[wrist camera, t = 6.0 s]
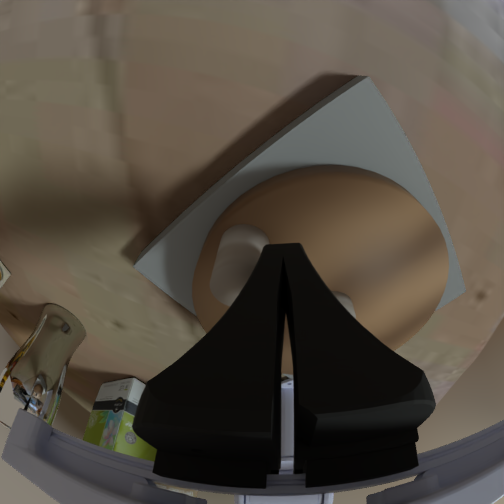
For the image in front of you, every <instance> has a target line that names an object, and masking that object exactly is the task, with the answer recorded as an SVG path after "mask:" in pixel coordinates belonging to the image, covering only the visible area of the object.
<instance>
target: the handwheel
mask: <svg viewBox="0 0 504 504" xmlns="http://www.w3.org/2000/svg"><path fill="white" fill-rule="evenodd" d="M282 243H300V244H302V246H303V248H304V250H305V252H306V254H307V256H308V258H309V260H310V261H311V263H312V265H313V266H314V268H315V270H316V271H317V272H318V274H319V275H320V277H321V278H322V280H323V281H324V283H325V284H326V285H327V287H328V288H329V289H330V290H331V292H332V293H333V294H334V295H335V297H336V298H337V299H338V300H339V301H340V303H341V304H342V305H343V306H344V307H345V308H346V309H347V310H348V311H349V312H350V314H351V315H352V316H353V317H354V318H355V319H356V320H357V321H358V322H359V323H360V324H362V325H363V326H364V327H365V328H366V329H367V330H368V331H369V332H371V333H372V334H373V335H374V336H375V337H376V338H378V339H379V340H380V341H381V342H382V343H383V344H385V345H386V346H387V347H389V348H390V349H391V350H393V351H394V350H396V349H397V348H399V347H400V346H402V345H403V344H404V343H406V342H407V341H408V340H410V339H411V338H412V337H413V336H414V335H415V334H416V333H417V332H418V331H419V330H420V329H421V328H422V327H423V326H424V325H425V324H426V323H427V321H428V320H429V319H430V317H431V316H432V314H433V313H434V311H435V310H436V308H437V306H438V304H439V303H440V301H441V298H442V296H443V293H444V291H445V287H446V283H447V280H448V272H449V256H448V250H447V246H446V242H445V239H444V237H443V234H442V232H441V230H440V228H439V226H438V225H437V223H436V222H435V220H434V219H433V218H432V216H431V215H430V214H429V213H428V212H427V210H426V209H425V208H424V207H423V206H422V205H421V204H420V202H419V201H418V200H417V199H416V198H415V197H414V196H413V195H412V194H411V193H410V192H408V191H407V190H406V189H405V188H404V187H402V186H401V185H399V184H398V183H396V182H395V181H393V180H392V179H390V178H388V177H385V176H383V175H381V174H379V173H376V172H373V171H370V170H366V169H362V168H358V167H351V166H342V165H321V166H312V167H306V168H300V169H295V170H292V171H289V172H286V173H282V174H279V175H276V176H274V177H272V178H270V179H268V180H265V181H263V182H261V183H259V184H257V185H256V186H254V187H253V188H251V189H249V190H248V191H246V192H245V193H243V194H242V195H240V196H239V197H238V198H237V199H236V200H235V201H234V202H233V203H231V204H230V205H229V206H228V207H227V208H226V209H225V210H224V212H223V213H222V214H221V215H220V216H219V217H218V219H217V220H216V221H215V223H214V224H213V226H212V228H211V229H210V231H209V233H208V235H207V237H206V239H205V242H204V245H203V247H202V250H201V253H200V256H199V259H198V262H197V265H196V268H195V271H194V276H193V281H192V299H193V304H194V309H195V312H196V315H197V317H198V320H199V322H200V323H201V325H202V327H203V329H204V330H205V332H206V333H208V332H209V331H210V330H211V328H212V327H213V326H214V325H215V324H216V323H217V322H218V321H219V320H220V318H221V317H222V316H223V315H224V314H225V312H226V311H227V310H228V309H229V307H230V306H231V305H232V303H233V302H234V300H235V299H236V298H237V296H238V295H239V293H240V291H241V290H242V288H243V287H244V285H245V284H246V282H247V280H248V279H249V277H250V275H251V273H252V271H253V270H254V268H255V266H256V264H257V262H258V259H259V257H260V255H261V252H262V249H263V247H264V246H265V245H266V244H282ZM281 373H282V374H289V375H293V363H292V354H291V346H290V339H289V332H288V324H287V317H285V330H284V342H283V354H282V369H281Z"/></svg>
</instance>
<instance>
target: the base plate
mask: <svg viewBox="0 0 504 504" xmlns="http://www.w3.org/2000/svg"><path fill="white" fill-rule="evenodd" d="M321 165H342V166H351V167H358V168H362V169H366V170H370V171H373V172H376V173H379V174H381V175H383V176H385V177H388V178H390V179H392V180H393V181H395V182H396V183H398V184H399V185H401V186H402V187H404V188H405V189H406V190H407V191H408V192H410V193H411V194H412V195H413V196H414V197H415V198H416V199H417V200H418V201H419V202H420V204H421V205H422V206H423V207H424V208H425V209H426V210H427V212H428V213H429V214H430V215H431V216H432V218H433V219H434V220H435V222H436V223H437V225H438V226H439V228H440V230H441V232H442V234H443V237H444V239H445V242H446V246H447V250H448V256H449V272H448V280H447V283H446V287H445V291H444V293H443V296H442V298H441V301H440V303H439V304H438V306H437V308H436V310H438V309H439V308H441V307H442V306H444V305H446V304H447V303H449V302H450V301H452V300H453V299H455V298H457V297H458V296H460V295H461V294H463V293H464V292H466V290H465V285H464V281H463V277H462V274H461V270H460V266H459V263H458V259H457V256H456V253H455V249H454V246H453V243H452V240H451V237H450V234H449V231H448V228H447V226H446V223H445V220H444V217H443V215H442V212H441V210H440V207H439V204H438V202H437V200H436V197H435V195H434V192H433V190H432V188H431V185H430V183H429V181H428V179H427V176H426V174H425V172H424V170H423V168H422V166H421V164H420V162H419V160H418V158H417V156H416V154H415V152H414V150H413V148H412V146H411V144H410V142H409V140H408V139H407V137H406V135H405V133H404V131H403V130H402V128H401V126H400V124H399V123H398V121H397V119H396V118H395V116H394V114H393V113H392V111H391V109H390V108H389V106H388V104H387V103H386V101H385V100H384V98H383V97H382V95H381V94H380V92H379V91H378V89H377V88H376V86H375V85H374V83H373V82H372V80H371V79H370V78H369V76H357V77H355V78H354V79H352V80H351V81H349V82H348V83H346V84H345V85H343V86H342V87H340V88H339V89H337V90H336V91H334V92H333V93H331V94H330V95H329V96H327V97H326V98H324V99H323V100H321V101H320V102H319V103H317V104H316V105H314V106H313V107H312V108H310V109H309V110H307V111H306V112H305V113H303V114H302V115H301V116H299V117H298V118H296V119H295V120H294V121H292V122H291V123H290V124H288V125H287V126H286V127H284V128H283V129H282V130H281V131H279V132H278V133H277V134H275V135H274V136H273V137H271V138H270V139H269V140H268V141H266V142H265V143H264V144H263V145H261V146H260V147H259V148H257V149H256V150H255V151H254V152H252V153H251V154H250V155H249V156H248V157H246V158H245V159H244V160H243V161H241V162H240V163H239V164H238V165H237V166H235V167H234V168H233V169H232V170H231V171H229V172H228V173H227V174H226V175H225V176H224V177H222V178H221V179H220V180H219V181H218V182H216V183H215V184H214V185H213V186H212V187H211V188H210V189H208V190H207V191H206V192H205V193H204V194H203V195H202V196H200V197H199V198H198V199H197V200H196V201H195V202H194V203H193V204H192V205H190V206H189V207H188V208H187V209H186V210H185V211H184V212H183V213H182V214H181V215H179V216H178V217H177V218H176V219H175V220H174V221H173V222H172V223H171V224H170V225H169V226H168V227H167V228H166V229H164V230H163V231H162V232H161V233H160V234H159V235H158V236H157V237H156V238H155V239H154V240H153V241H152V242H151V243H150V244H149V245H148V246H147V247H146V248H145V249H144V250H143V251H142V252H141V253H140V255H139V257H138V259H137V260H136V262H135V264H134V266H133V267H134V268H135V269H136V270H138V271H139V272H140V273H141V274H143V275H144V276H145V277H146V278H147V279H149V280H150V281H151V282H152V283H154V284H155V285H156V286H157V287H159V288H160V289H161V290H163V291H164V292H165V293H166V294H168V295H169V296H170V297H172V298H173V299H174V300H176V301H177V302H178V303H180V304H181V305H182V306H183V307H185V308H186V309H188V310H189V311H190V312H192V313H193V314H194V315H196V312H195V309H194V304H193V299H192V281H193V276H194V271H195V268H196V265H197V262H198V259H199V256H200V253H201V250H202V247H203V245H204V242H205V239H206V237H207V235H208V233H209V231H210V229H211V228H212V226H213V224H214V223H215V221H216V220H217V219H218V217H219V216H220V215H221V214H222V213H223V212H224V210H225V209H226V208H227V207H228V206H229V205H230V204H231V203H233V202H234V201H235V200H236V199H237V198H238V197H239V196H240V195H242V194H243V193H245V192H246V191H248V190H249V189H251V188H253V187H254V186H256V185H257V184H259V183H261V182H263V181H265V180H268V179H270V178H272V177H274V176H276V175H279V174H282V173H286V172H289V171H292V170H295V169H300V168H306V167H312V166H321ZM436 310H435V311H436ZM196 316H197V315H196ZM284 375H285V376H287V377H289V378H290V379H293V375H289V374H284Z"/></svg>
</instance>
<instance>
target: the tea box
mask: <svg viewBox="0 0 504 504" xmlns="http://www.w3.org/2000/svg"><path fill="white" fill-rule="evenodd" d="M145 386H146V385H145V384H144V383H142V382H140V381H139V380H137V379H136V378H128V379H122V380H117V381H112V382H107V383H103V384H102V385H101V387H100V390H99V392H98V395H97V397H96V400H95V403H94V406H93V409H92V412H91V415H90V418H89V421H88V424H87V428H86V431H85V434H84V438H83V441H86V442H89V443H91V444H94V445H97V446H100V447H103V448H106V449H109V450H112V451H116V452H119V453H123V454H126V455H130V456H133V457H137V458H141V459H145V460H150V461H155V456H156V452H157V449H155V448H154V447H152V446H151V445H150V444H148V443H147V442H145V441H144V440H142V439H141V438H140V437H139V436H137V435H136V434H135V432H134V431H133V429H132V424H133V420H134V417H135V413H136V410H137V406H138V403H139V400H140V397H141V394H142V392H143V390H144V388H145ZM152 482H153V481H152ZM154 483H155V484H156V486H157V487H158V488H162V489H166V490H170V491H174V492H179V493H183V494H186V495H189V496H192V497H196V498H197V496H198V490H192V489H186V488H180V487H175V486H170V485H166V484H161V483H157V482H154Z"/></svg>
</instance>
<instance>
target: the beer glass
mask: <svg viewBox="0 0 504 504" xmlns="http://www.w3.org/2000/svg"><path fill="white" fill-rule="evenodd" d="M85 336H86V332H85V329H84V327H83V325H82V324H81V323H80V321H79V320H78V319H77V318H76V317H75V316H74V315H73V314H71V313H70V312H69V311H67V310H66V309H64V308H62V307H60V306H58V305H55V304H47V305H45V306H44V308H43V310H42V312H41V315H40V318H39V320H38V323H37V325H36V327H35V329H34V331H33V332H32V334H31V335H30V337H29V338H28V339H27V340H26V342H25V343H24V344H23V345H22V346H21V347H20V349H19V350H18V351H17V352H16V353H15V355H14V356H13V357H12V358H11V360H10V361H9V362H8V364H7V365H6V367H5V368H4V370H3V372H2V373H1V375H0V424H1V425H3V426H4V427H6V428H7V429H9V430H11V427H12V424H13V422H14V419H15V417H16V414H17V412H18V409H19V408H22V409H24V410H26V411H27V412H29V413H31V414H33V415H35V416H37V417H39V418H40V419H42V420H44V421H45V422H46V423H48V424H49V425H51V426H52V424H53V421H54V419H55V416H56V413H57V410H58V407H59V403H60V399H61V395H62V390H63V385H64V381H65V376H66V372H67V368H68V365H69V362H70V360H71V358H72V356H73V354H74V352H75V351H76V349H77V348H78V347H79V345H80V344H81V343H82V342H83V340H84V339H85Z"/></svg>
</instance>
